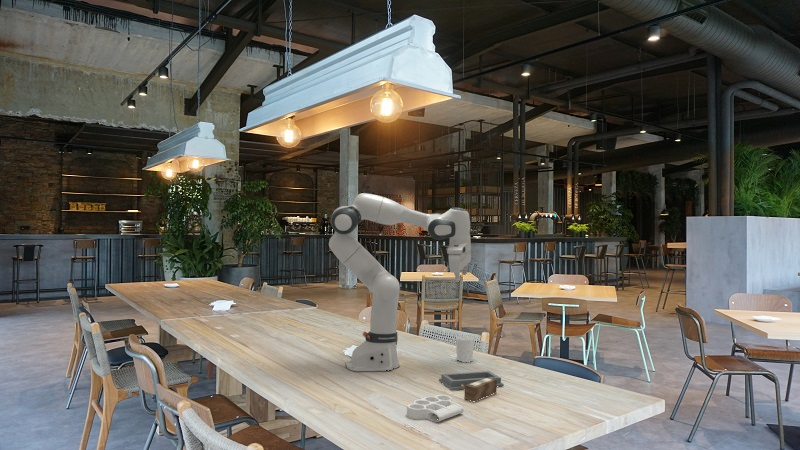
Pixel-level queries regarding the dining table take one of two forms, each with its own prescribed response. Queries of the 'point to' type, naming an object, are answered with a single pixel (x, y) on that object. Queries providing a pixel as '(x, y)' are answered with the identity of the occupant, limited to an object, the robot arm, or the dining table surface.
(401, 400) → the dining table surface
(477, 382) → the frame block
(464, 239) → the robot arm
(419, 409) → the light grey compartment holder
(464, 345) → the white cup
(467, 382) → the dark grey rectangular tray
